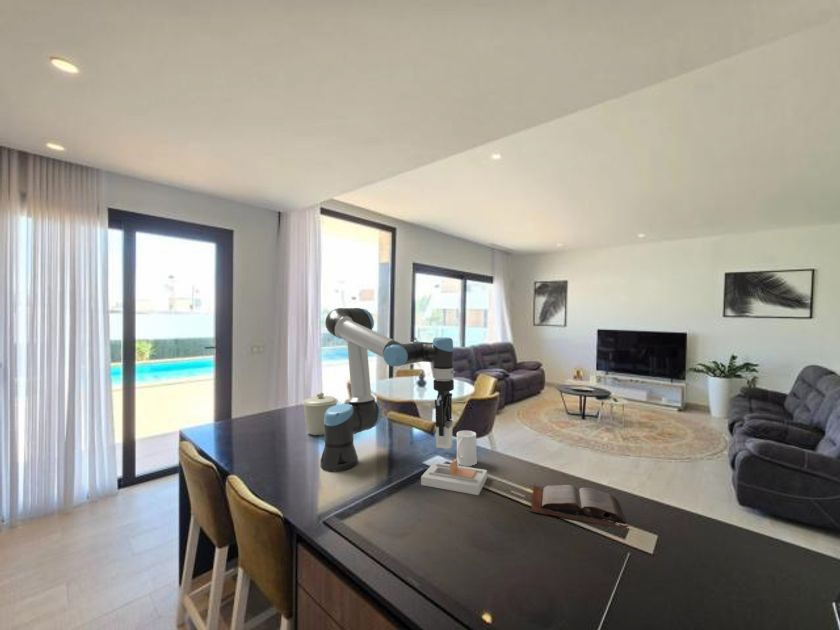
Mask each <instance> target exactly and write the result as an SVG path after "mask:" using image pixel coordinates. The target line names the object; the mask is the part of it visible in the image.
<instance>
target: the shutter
mask: <svg viewBox="0 0 840 630" xmlns="http://www.w3.org/2000/svg"><path fill="white" fill-rule="evenodd" d="M449 464H450V475H451V476H457V477H463V478H469V479H473V477H474V475H475V473H476V471H475V470H468V469H462V468H457V466H458V464H457V458H454V459H453V460H452V462H450V463H449Z"/></svg>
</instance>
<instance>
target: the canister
mask: <svg viewBox="0 0 840 630" xmlns="http://www.w3.org/2000/svg"><path fill="white" fill-rule="evenodd" d="M338 402H339V399H337V398H336V397H334V396H329V395H325V394H324V392H322V391H319V392H317V393H316V396H311V397H308V398H306V399H305V400H303V401H302V402H301V404H302V405H303V411H304V412H303V413H304V419H305V425H306V431H307V433H308V434H309V435H312V436H317V435H318V436H325V427H324V419H325V412H326V410H327V409H329V408H330V407H332V406H335V405H338V404H337V403H338Z"/></svg>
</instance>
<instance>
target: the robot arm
mask: <svg viewBox="0 0 840 630" xmlns="http://www.w3.org/2000/svg"><path fill="white" fill-rule="evenodd" d="M374 325H375V320H374V317H373V315H372V314H371V312H370V311H369V310H368V309H365V308H361V307H353V308H352V307H346V308H345V307H339V308H338V307H337V308H334V309H332V310H331V311H330V312H328V314H327V315H326V318H325V328H326V330H327V331H328V332H329V333H330V334H331V335H332V336H334V337H336V338H338V339H340V340H341V339H343V340H344V341H345V342H346V345H347V353H348V354H347V356H348V367H349V369H348V371H349V379H350V381H349V383H350V390H351V391H350V392H351V397H350V398H349V399H348V403H342V404H337V405H335V406H332V407H330V408H329V409H327V410H326V412H325V419H324V427H325V435H324V448H323V451H322V454H321V458H320V468H321V469H322V470H324V471H327V472H343V471H346V470H347V471H348V470H350V469H352V468H354V467H356V466H357V465H358V463H359V457H358V456H359V455H358V454H357V450H356V447H355V444H354V435H356V434H359V433H361V432H363V431H368V430H371V429H372V428H374V427H376V426H377V425H379V423H380V422H381V419H382V408H381V406H380V405H379V403H378V401H376V397H375V396H374V395H372V390H371V377H370V366H369V355H368V353H369V352H371V353H373V354H375V355H377V356H378V357H381V358H383V360H384V362H385V363H386V365H387V366H389V367H401V366H402V367H403V366H405V365H411V364H417V363H425V362H426V363H432V366H433V368H432V371H433V372H432V373H433V374H432V376H433V377H432V379H433V390H434V391H436V392H437V396H436V399H434V406H435V427H436V426H437V427H438V444H442V445H446V426H445V416H446V417H447V421H452V422H453V420H452V417H453V416H452V415H453V413H452V411H453V409H452V408H453V407H452V406H453V402H452V401H453V400H452V399H453V393H452V392H451V391H453V390H455V389H454V388H455V386H454V384H455V382H454V374H455V373H456V371H455V370H454V351H455V349H454V340H453V338H451V337H443V336H442V337H441V336H440V337H434V338H433V339H432V342H429V341H428V342H426V341H425V342H424V341H410V342H409V343H401V342H398V341H397V340H395V339H393V338H391V337H387V336H386V335H383V334H381V333H380V332H376V331H374V330H373V329H374ZM368 351H369V352H368Z"/></svg>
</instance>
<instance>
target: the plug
mask: <svg viewBox="0 0 840 630" xmlns="http://www.w3.org/2000/svg"><path fill="white" fill-rule="evenodd" d="M445 426H446V445H442V444H438V427H437V426H436V425H435V431H436V432H435V441H436V442H435V448H437V449H438V448H440V449H445V450H450V449H451V448H452V447H453V420H452V421H447V417H446V416H445Z"/></svg>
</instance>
